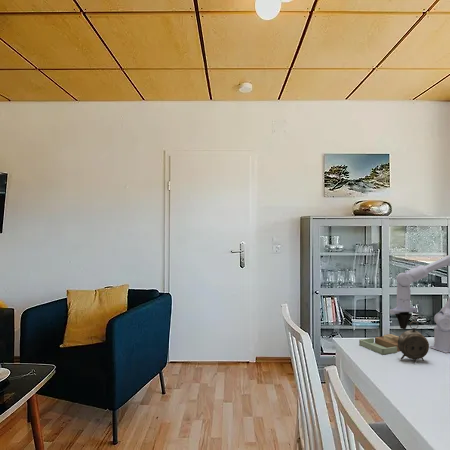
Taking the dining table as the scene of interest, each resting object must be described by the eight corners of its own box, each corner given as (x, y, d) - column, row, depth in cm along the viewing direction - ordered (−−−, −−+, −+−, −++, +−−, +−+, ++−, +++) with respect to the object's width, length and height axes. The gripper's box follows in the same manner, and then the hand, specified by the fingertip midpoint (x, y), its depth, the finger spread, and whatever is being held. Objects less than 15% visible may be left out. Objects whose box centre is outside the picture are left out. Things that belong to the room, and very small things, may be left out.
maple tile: (391, 338, 172) (391, 333, 172) (399, 341, 168) (399, 336, 168) (383, 339, 171) (383, 334, 171) (391, 342, 167) (391, 337, 167)
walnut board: (389, 341, 177) (389, 335, 177) (410, 349, 166) (410, 342, 166) (374, 343, 174) (374, 337, 174) (395, 352, 163) (395, 345, 163)
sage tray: (372, 343, 175) (372, 337, 175) (397, 352, 162) (397, 346, 162) (359, 345, 172) (359, 339, 172) (382, 355, 159) (382, 349, 159)
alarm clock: (424, 359, 154) (425, 319, 154) (430, 364, 148) (431, 323, 148) (397, 358, 155) (397, 319, 155) (401, 363, 149) (402, 322, 150)
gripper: (407, 296, 179) (407, 325, 179) (384, 298, 173) (384, 327, 173) (420, 299, 172) (420, 328, 172) (396, 301, 167) (396, 331, 167)
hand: (403, 328), depth 172 cm, fingers closed
